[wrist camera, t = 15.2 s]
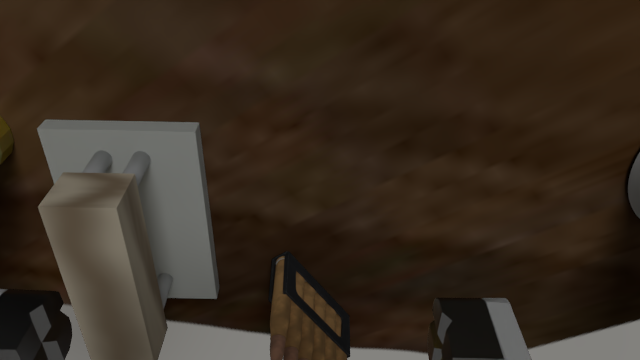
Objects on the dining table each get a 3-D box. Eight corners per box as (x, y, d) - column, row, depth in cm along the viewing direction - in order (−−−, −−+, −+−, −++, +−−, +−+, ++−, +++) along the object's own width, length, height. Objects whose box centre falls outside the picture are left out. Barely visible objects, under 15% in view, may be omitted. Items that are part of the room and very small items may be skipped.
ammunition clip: (271, 258, 50) (257, 367, 40) (287, 250, 49) (277, 359, 40) (334, 323, 55) (336, 435, 45) (349, 316, 54) (355, 428, 44)
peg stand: (199, 122, 42) (182, 163, 37) (219, 287, 52) (208, 336, 47) (45, 119, 42) (7, 160, 37) (95, 285, 52) (71, 334, 47)
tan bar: (134, 173, 38) (116, 208, 34) (167, 327, 47) (155, 366, 43) (63, 172, 38) (37, 206, 34) (109, 326, 47) (93, 365, 43)
